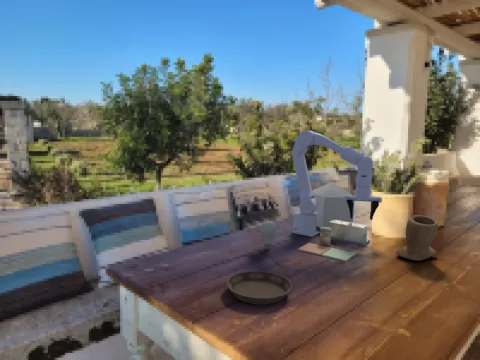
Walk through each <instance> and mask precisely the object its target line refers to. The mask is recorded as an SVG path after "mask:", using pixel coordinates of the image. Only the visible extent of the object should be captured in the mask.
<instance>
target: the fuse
mask: <svg viewBox="0 0 480 360" xmlns="http://www.w3.org/2000/svg"><path fill="white" fill-rule="evenodd" d="M319 232H320V233H319V245H321V246H325V247H330V246H331V240H330V239H331V228H329V227H321V228H320V231H319Z"/></svg>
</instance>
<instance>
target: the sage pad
mask: <svg viewBox="0 0 480 360" xmlns="http://www.w3.org/2000/svg"><path fill="white" fill-rule="evenodd" d="M330 248H331V249H330V250H328V251H326V252H325V253H323V254H322V255H321V257H326V258H330V259H333V260H339V261H343V262H348V261H349V260H350V259H352V258H353V257H354V256H356V252H350V251H347V250H344V249H343V250H342V249H339V248H333V247H330Z"/></svg>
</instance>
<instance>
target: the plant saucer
mask: <svg viewBox="0 0 480 360" xmlns="http://www.w3.org/2000/svg"><path fill="white" fill-rule="evenodd" d="M226 284H227V288H228V289H229V290H228V291H230V293H231V294H232V295H233V296H234V297H235V298H237V299H238V300H239V301H242V302H244V303H248V304H253V305H271V303H272V304H275V303H277V302H280V301H281V300H283V299H284V298H285V297H287V295H288V294H289V293H290V291H291V289H292V286H293V285H292V283H291V281H290V280H289V279H288V278H286V277H284V276H282V275H280V274H277V273H275V272H274V273H273V272H269V271H261V270H260V271H259V270H251V271H243V272H239V273H237V274H234V275H232V276H230V277H229V278H228V280H227V282H226Z"/></svg>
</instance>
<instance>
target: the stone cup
mask: <svg viewBox="0 0 480 360" xmlns="http://www.w3.org/2000/svg"><path fill="white" fill-rule="evenodd" d="M438 228H439V223H438V222H437V221H436V219H434V218H432V217H430V216H427V215H421V214H420V215H419V214H415V215H413V216H411V217H409V218H408V220H407V223H406V227H405V238H406V245H404V246H402V247H400V248H397V249H396V250H395V254H396V255H398V256H399V257H401V258H404V259H406V260H410V261H417V262H419V261H424V260H426V259H429V258H431V257H432V256H434V255H436V254H437V251H436V250H435V249H433V247H431V245H432V242H433V241H434V239H435V238H436V235H437V233H438Z"/></svg>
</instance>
